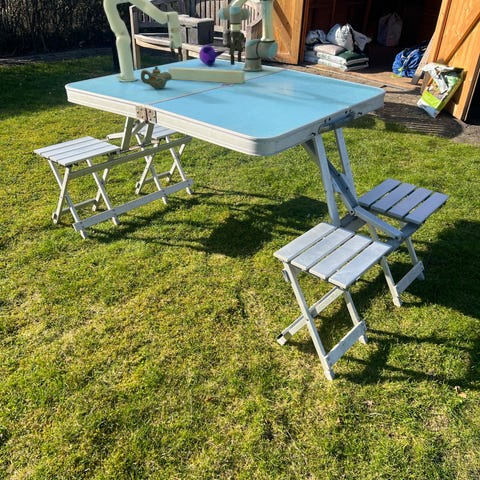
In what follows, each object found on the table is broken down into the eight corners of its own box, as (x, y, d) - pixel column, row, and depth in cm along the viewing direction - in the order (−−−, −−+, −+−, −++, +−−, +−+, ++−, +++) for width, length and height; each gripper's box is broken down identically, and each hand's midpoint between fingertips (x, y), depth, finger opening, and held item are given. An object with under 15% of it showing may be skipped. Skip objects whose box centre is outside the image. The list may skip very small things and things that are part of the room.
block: (169, 79, 344) (168, 68, 341) (172, 77, 349) (172, 67, 345) (241, 83, 325) (241, 72, 321) (244, 81, 330) (244, 70, 326)
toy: (209, 67, 381) (200, 66, 405) (227, 60, 385) (217, 60, 408) (203, 48, 374) (194, 48, 397) (222, 41, 377) (212, 42, 401)
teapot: (171, 85, 322) (169, 63, 314) (174, 88, 312) (172, 66, 305) (141, 88, 316) (138, 65, 309) (143, 91, 307) (140, 68, 299)
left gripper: (172, 31, 322) (175, 57, 331) (184, 29, 335) (186, 53, 344) (163, 31, 325) (166, 57, 333) (176, 29, 338) (178, 53, 347)
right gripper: (233, 32, 301) (234, 66, 311) (246, 29, 321) (247, 60, 331) (223, 32, 303) (224, 65, 314) (237, 29, 323) (237, 60, 334)
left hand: (176, 55), depth 339 cm, fingers open, 9 cm apart
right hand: (236, 63), depth 322 cm, fingers open, 13 cm apart
